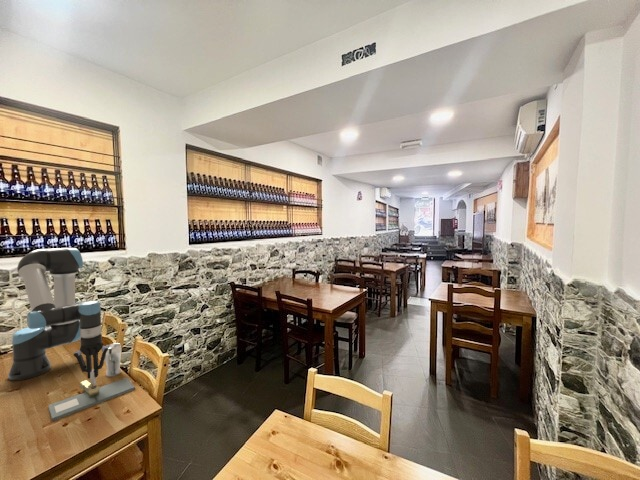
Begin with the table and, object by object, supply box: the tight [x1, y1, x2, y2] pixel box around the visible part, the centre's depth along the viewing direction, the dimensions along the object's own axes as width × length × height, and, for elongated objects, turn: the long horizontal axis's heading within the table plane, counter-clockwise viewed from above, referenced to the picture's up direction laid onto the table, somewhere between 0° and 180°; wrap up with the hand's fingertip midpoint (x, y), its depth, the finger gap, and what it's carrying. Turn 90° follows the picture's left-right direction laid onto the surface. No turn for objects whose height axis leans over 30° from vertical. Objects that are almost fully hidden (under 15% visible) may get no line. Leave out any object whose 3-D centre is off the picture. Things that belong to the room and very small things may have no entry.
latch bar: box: [79, 379, 100, 397], centre depth 123 cm, size 4×14×4 cm, turn 59°
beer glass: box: [104, 342, 122, 378], centre depth 140 cm, size 7×7×15 cm
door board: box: [48, 377, 136, 422], centre depth 121 cm, size 12×28×1 cm, turn 140°
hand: (93, 384), depth 127 cm, fingers closed
